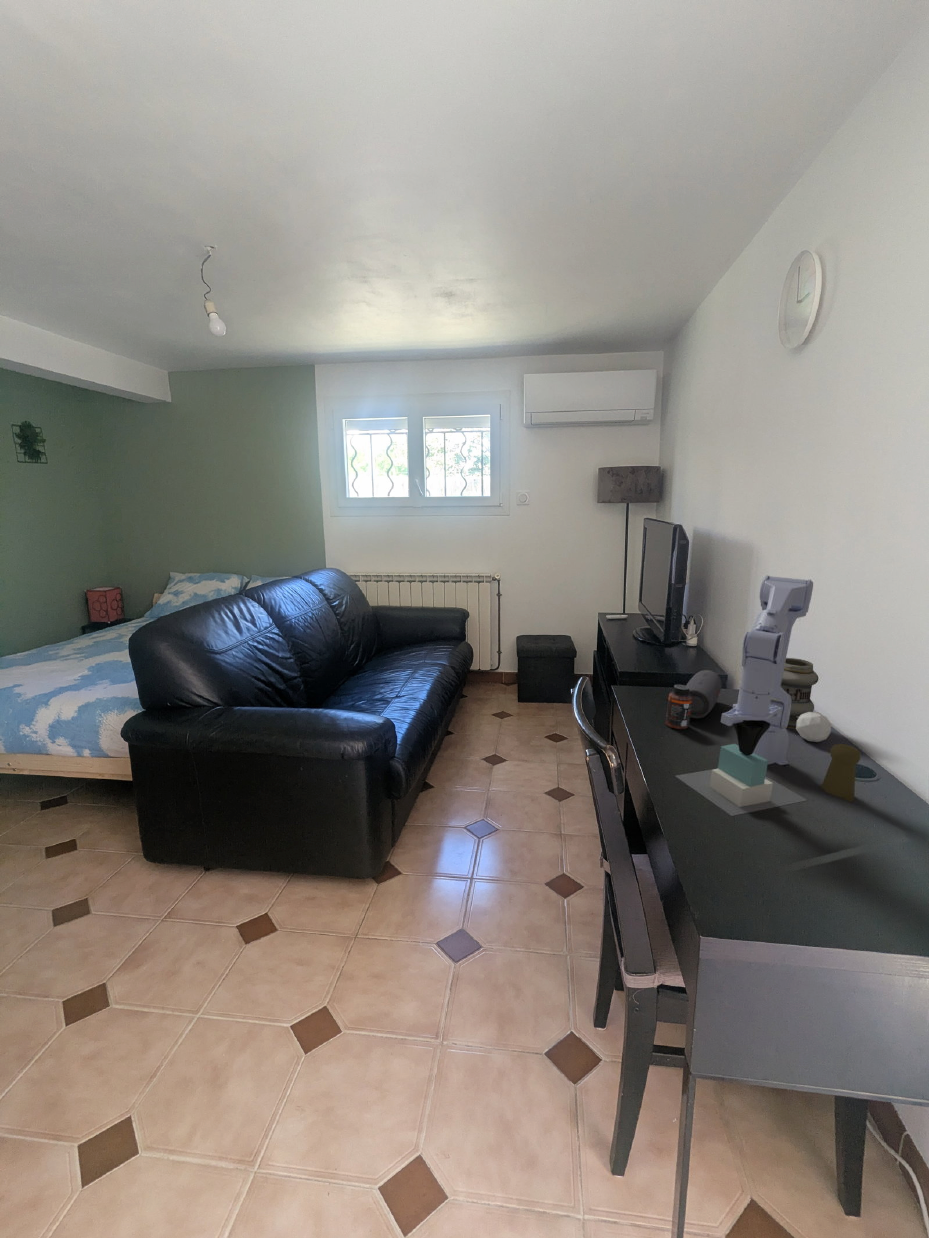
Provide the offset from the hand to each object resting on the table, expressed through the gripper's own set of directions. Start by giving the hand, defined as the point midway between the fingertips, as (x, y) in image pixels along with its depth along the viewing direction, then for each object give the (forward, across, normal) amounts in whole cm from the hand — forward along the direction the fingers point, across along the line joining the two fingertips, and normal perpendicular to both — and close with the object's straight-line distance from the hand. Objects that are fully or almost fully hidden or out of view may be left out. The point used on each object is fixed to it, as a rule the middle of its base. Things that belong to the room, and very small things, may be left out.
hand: (745, 752), depth 110 cm
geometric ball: (+10, -43, -14) cm, 46 cm away
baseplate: (+10, -2, -2) cm, 10 cm away
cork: (+10, -22, +6) cm, 25 cm away
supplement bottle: (+10, -15, -33) cm, 38 cm away
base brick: (+9, 0, 0) cm, 9 cm away
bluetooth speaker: (+10, -31, -40) cm, 52 cm away
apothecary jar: (+10, -48, -25) cm, 55 cm away
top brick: (+5, 0, 0) cm, 5 cm away
